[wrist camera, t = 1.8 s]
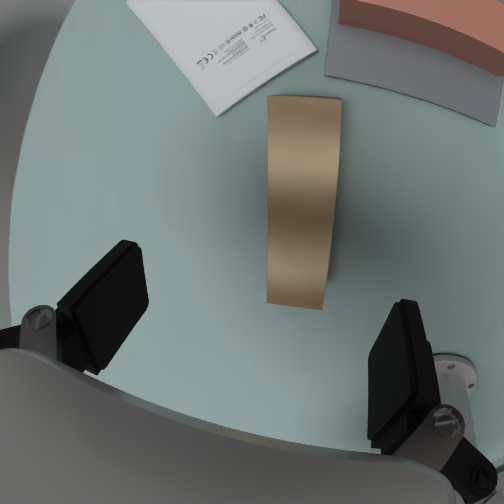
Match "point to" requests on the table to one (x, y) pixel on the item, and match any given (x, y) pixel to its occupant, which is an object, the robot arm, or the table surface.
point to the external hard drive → (226, 43)
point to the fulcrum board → (423, 50)
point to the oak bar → (301, 196)
